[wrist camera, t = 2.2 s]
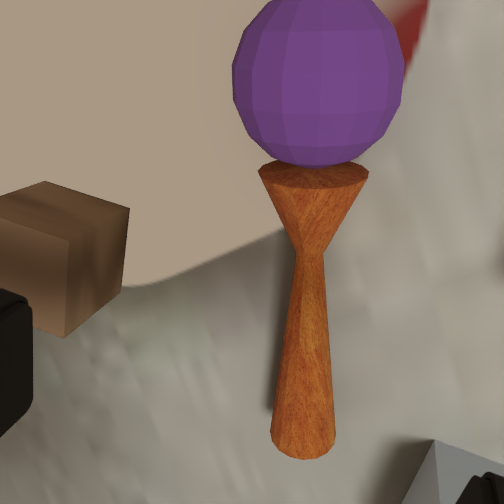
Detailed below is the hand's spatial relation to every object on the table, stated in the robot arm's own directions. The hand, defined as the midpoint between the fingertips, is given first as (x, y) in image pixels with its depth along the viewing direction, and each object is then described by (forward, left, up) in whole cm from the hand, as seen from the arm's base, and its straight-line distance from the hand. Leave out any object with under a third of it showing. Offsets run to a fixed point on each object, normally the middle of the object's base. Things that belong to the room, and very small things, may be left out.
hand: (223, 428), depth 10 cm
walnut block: (-5, +12, -14) cm, 19 cm away
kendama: (-1, 0, -14) cm, 14 cm away
